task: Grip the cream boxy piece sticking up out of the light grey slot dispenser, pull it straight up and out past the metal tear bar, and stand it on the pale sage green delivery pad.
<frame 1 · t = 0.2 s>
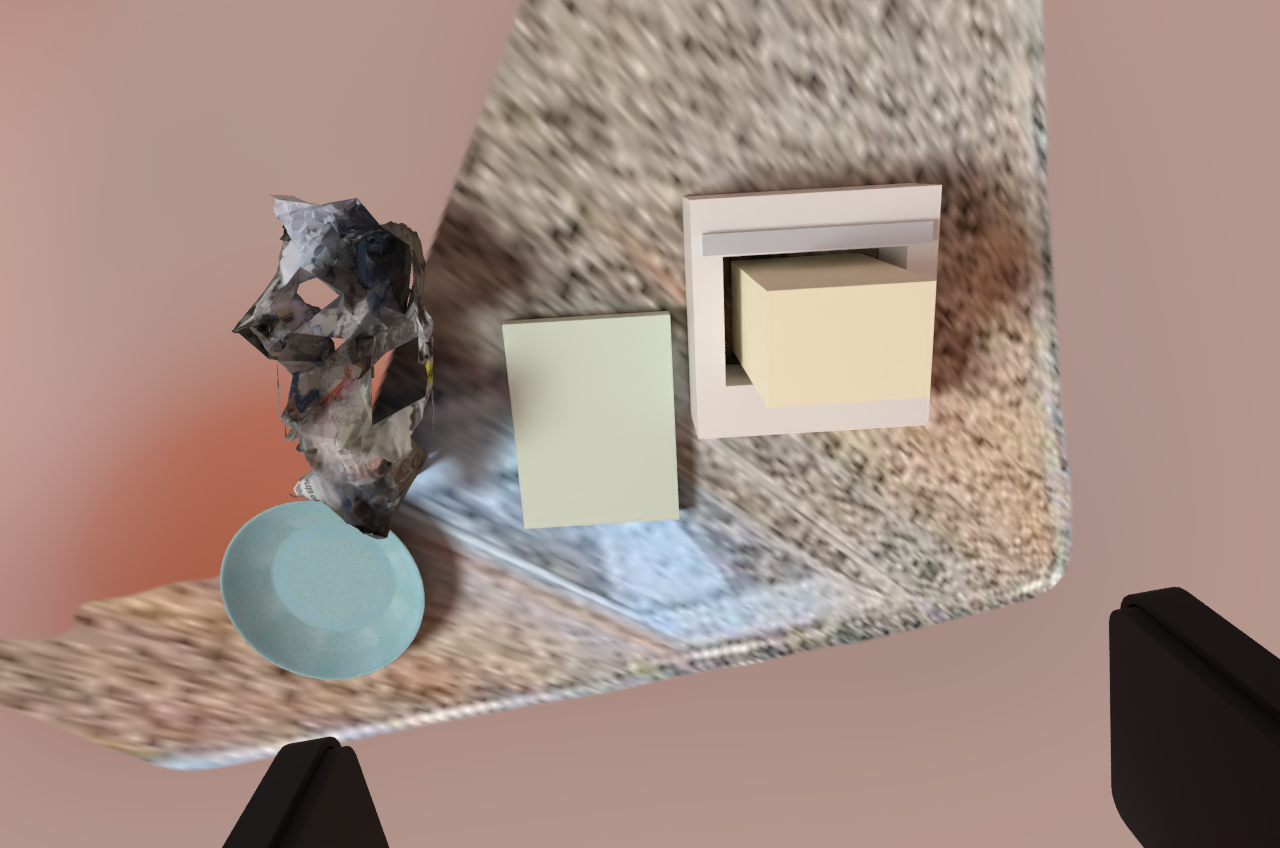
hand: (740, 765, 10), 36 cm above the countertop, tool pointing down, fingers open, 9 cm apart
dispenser: (795, 303, 44), on the countertop
saucer: (336, 573, 49), on the countertop
cream boxy piece: (795, 302, 44), resting in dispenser
foil: (368, 345, 45), on the countertop
delivery pad: (595, 419, 46), on the countertop
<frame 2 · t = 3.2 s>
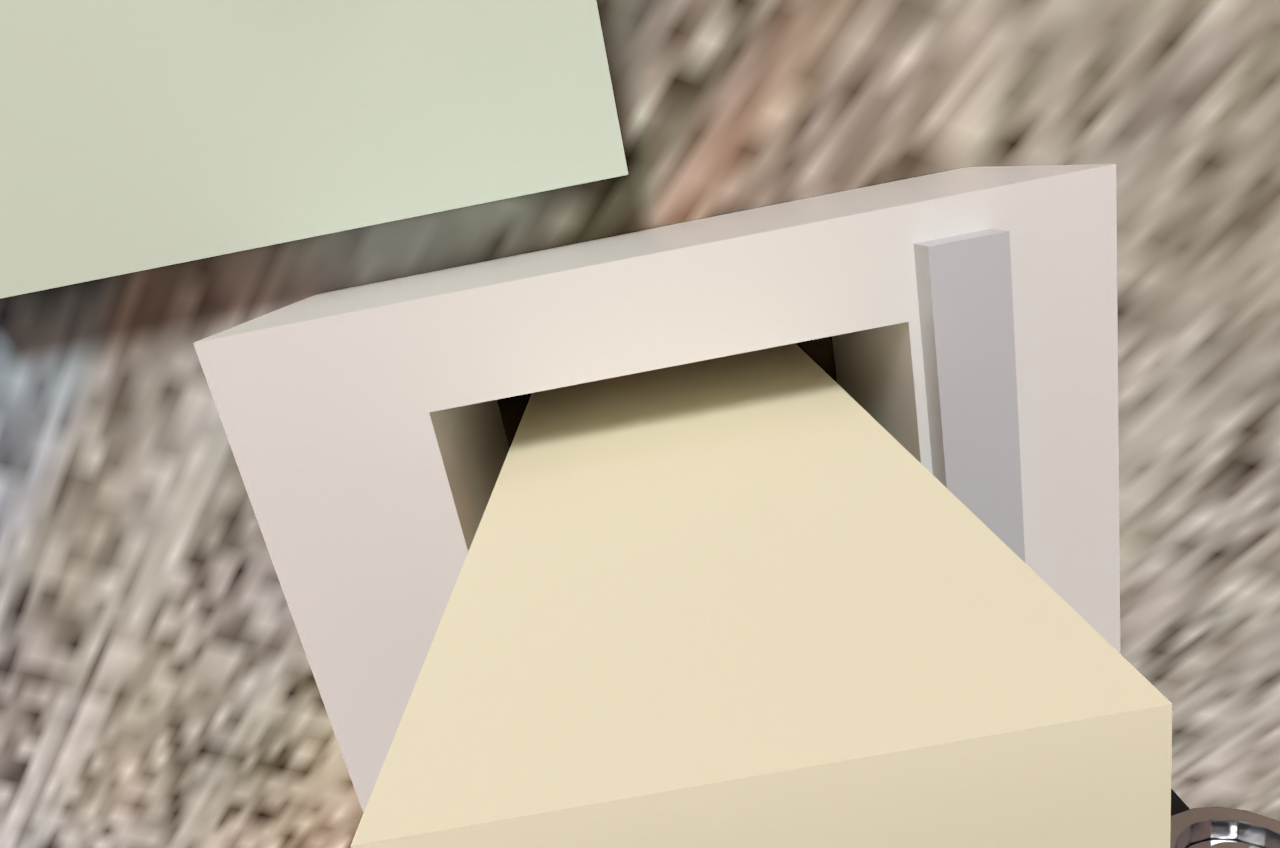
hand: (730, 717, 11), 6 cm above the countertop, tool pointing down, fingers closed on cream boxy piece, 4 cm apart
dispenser: (692, 528, 16), on the countertop
cream boxy piece: (692, 528, 16), resting in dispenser, touching gripper
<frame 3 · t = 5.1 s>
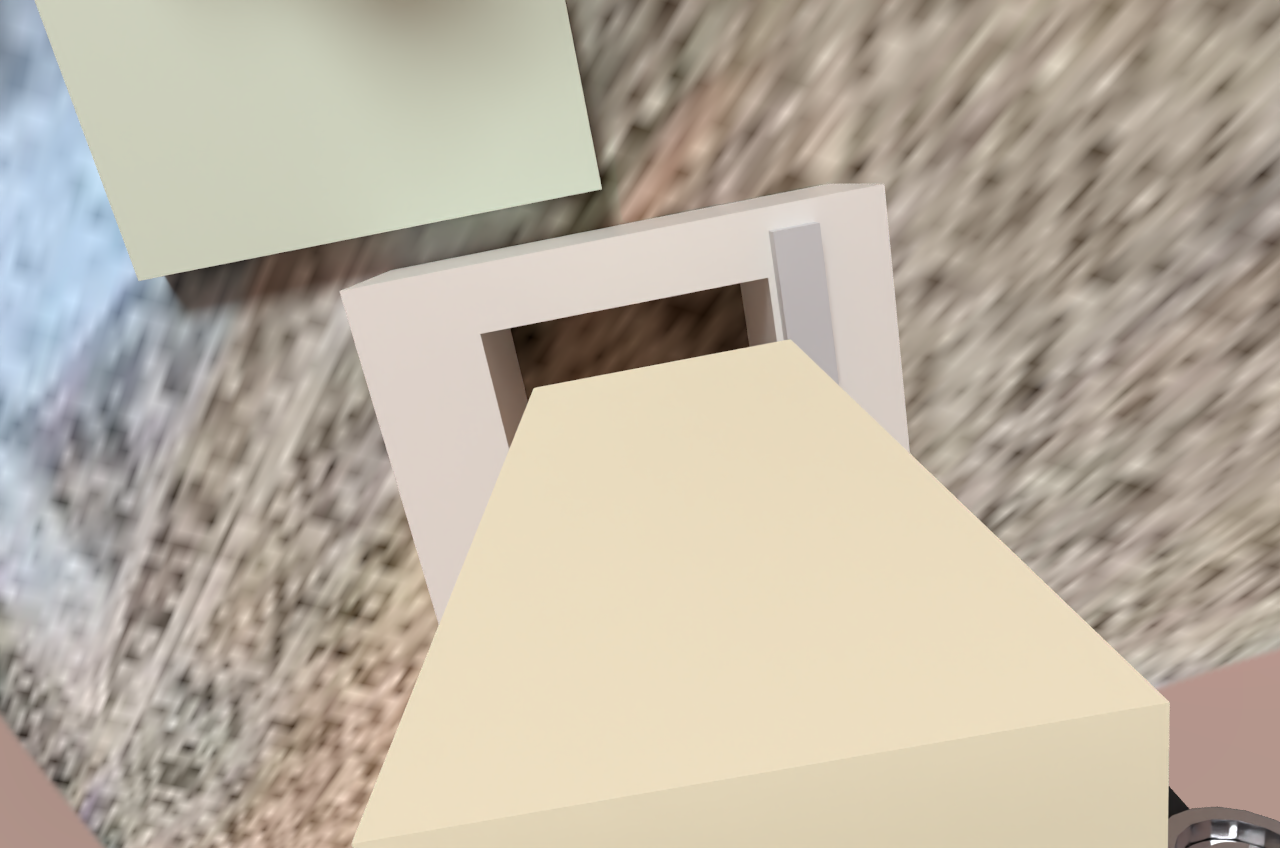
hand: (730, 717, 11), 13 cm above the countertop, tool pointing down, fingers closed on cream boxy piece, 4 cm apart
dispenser: (649, 434, 23), on the countertop
cream boxy piece: (691, 527, 16), point 7 cm above the countertop, touching gripper
delivery pad: (331, 51, 20), on the countertop
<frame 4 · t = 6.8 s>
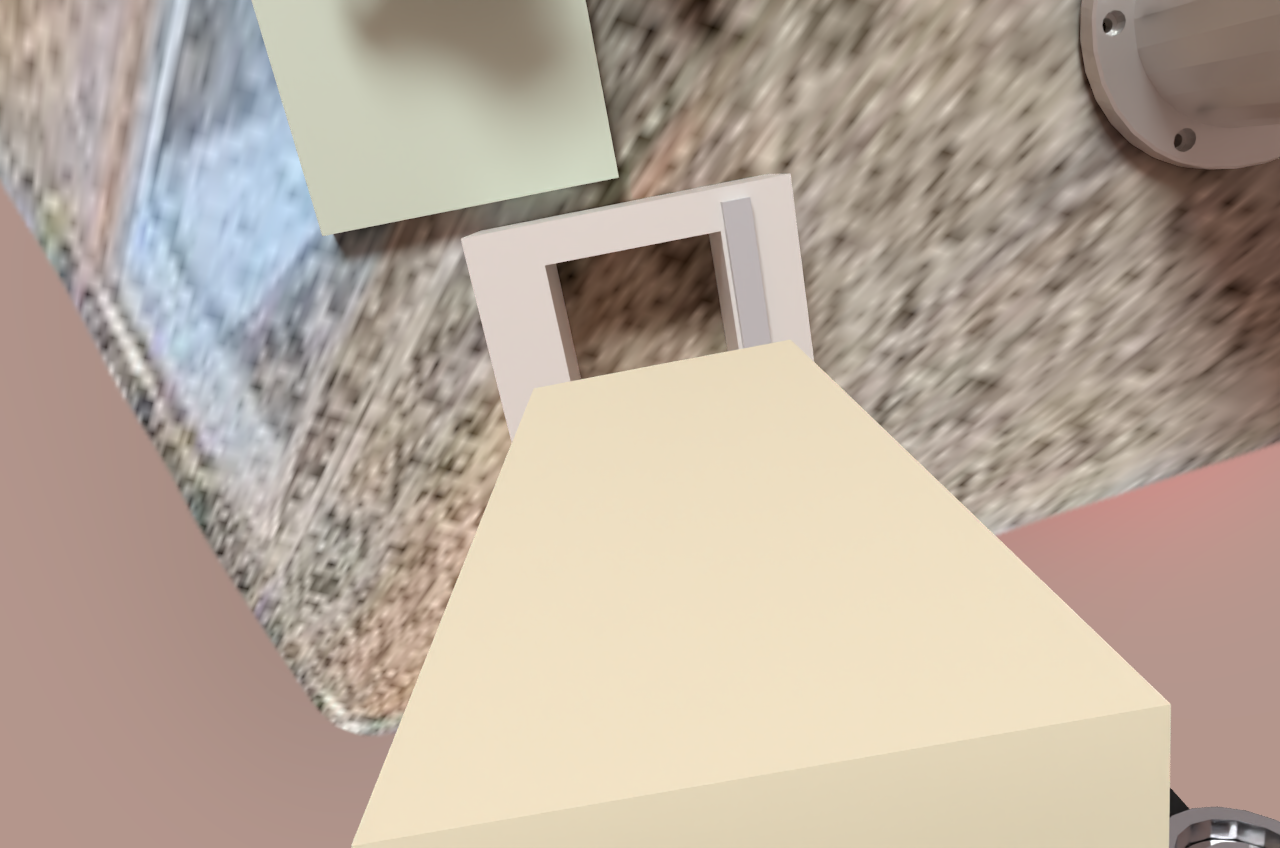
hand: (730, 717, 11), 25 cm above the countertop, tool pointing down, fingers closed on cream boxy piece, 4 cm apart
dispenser: (650, 343, 35), on the countertop
cream boxy piece: (691, 528, 16), point 19 cm above the countertop, touching gripper
delivery pad: (446, 89, 31), on the countertop
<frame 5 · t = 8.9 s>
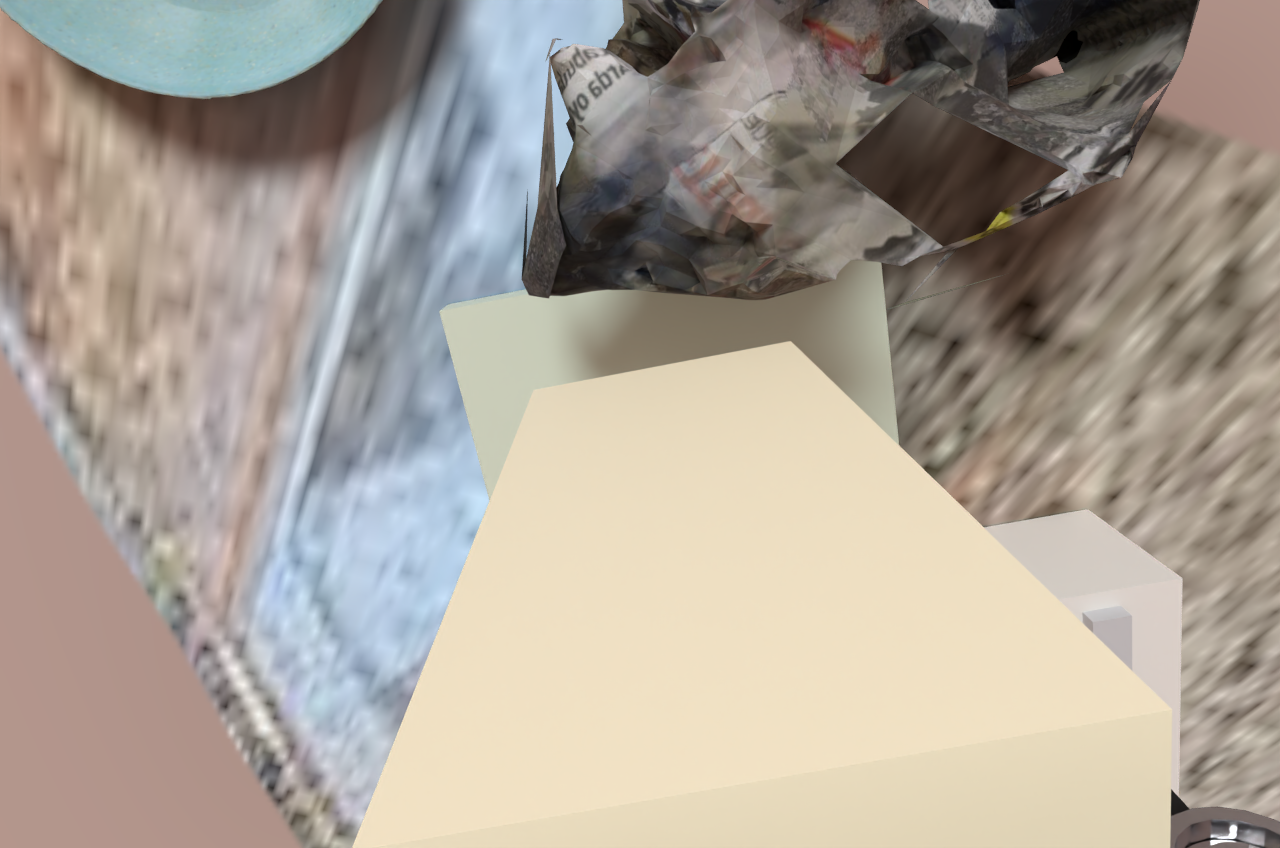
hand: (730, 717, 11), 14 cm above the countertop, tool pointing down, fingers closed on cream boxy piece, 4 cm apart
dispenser: (913, 700, 27), on the countertop
cream boxy piece: (691, 529, 16), point 8 cm above the countertop, touching gripper
foil: (827, 54, 22), on the countertop
delivery pad: (681, 413, 24), on the countertop
when the fingers open (8 cm above the countertop, at t = 10.6 s): cream boxy piece stays where it is, resting on delivery pad.
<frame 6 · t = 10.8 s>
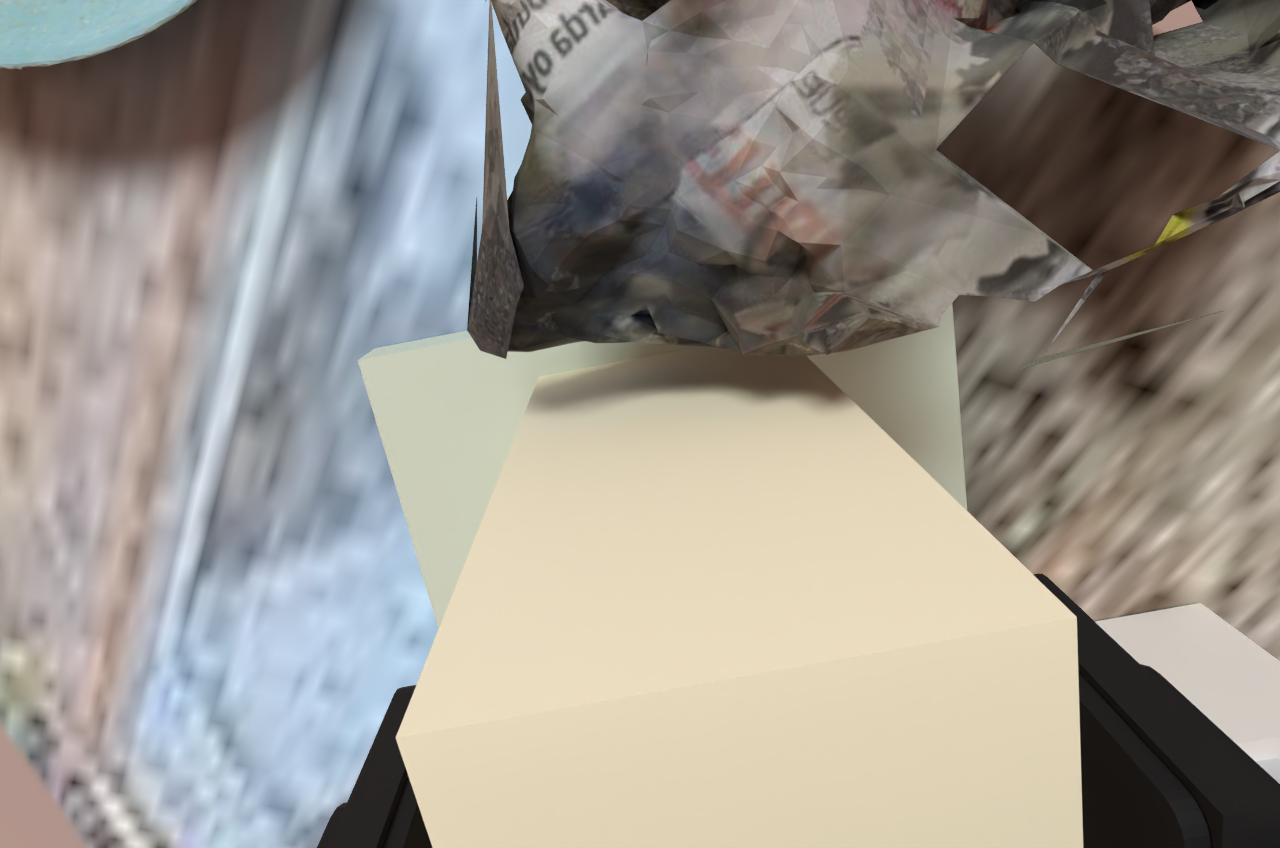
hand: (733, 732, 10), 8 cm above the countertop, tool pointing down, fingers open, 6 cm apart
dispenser: (973, 835, 22), on the countertop
cream boxy piece: (687, 509, 17), point 1 cm above the countertop, touching delivery pad
foil: (882, 5, 16), on the countertop
delivery pad: (683, 487, 18), on the countertop
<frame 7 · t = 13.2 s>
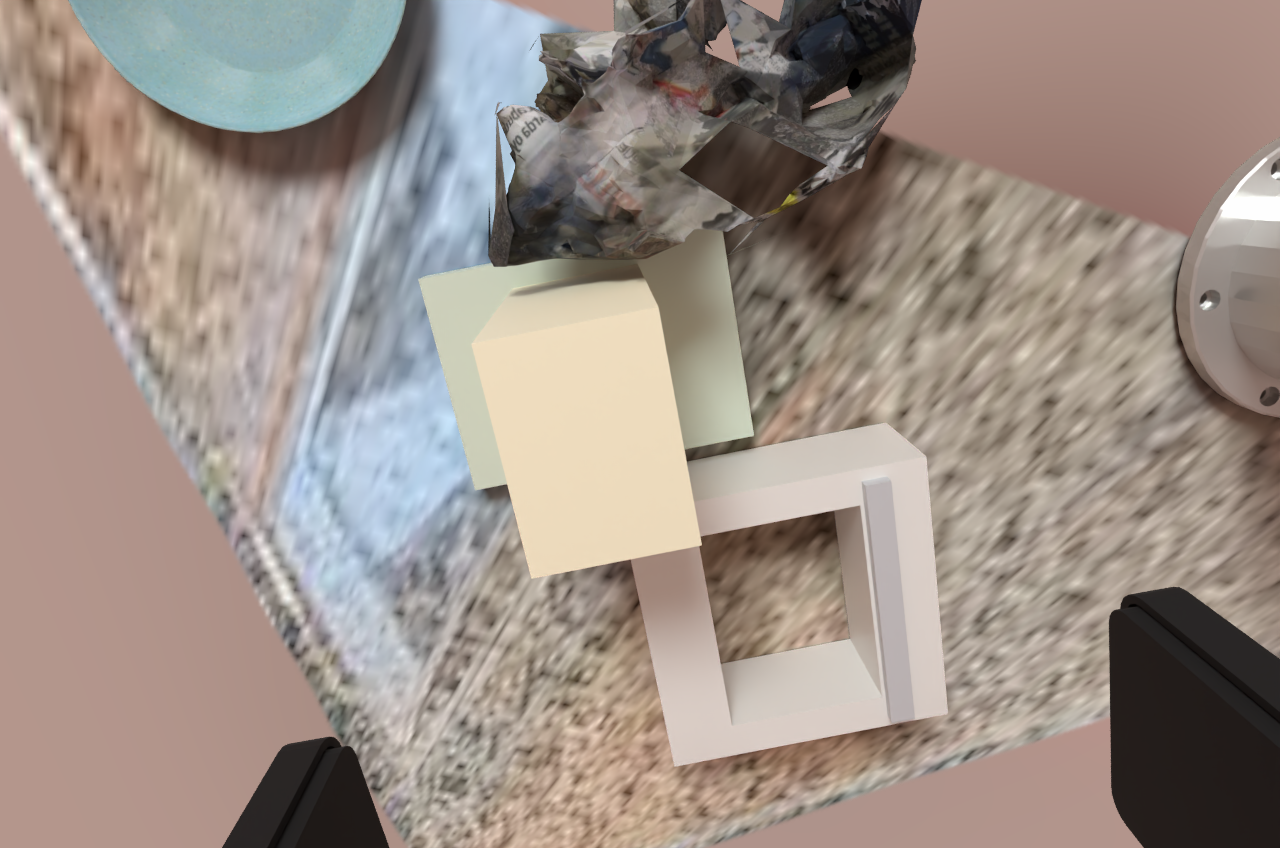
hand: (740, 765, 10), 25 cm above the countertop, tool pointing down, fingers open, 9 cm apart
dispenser: (770, 568, 37), on the countertop
cream boxy piece: (593, 361, 33), point 1 cm above the countertop, touching delivery pad
foil: (691, 92, 31), on the countertop
delivery pad: (593, 354, 34), on the countertop
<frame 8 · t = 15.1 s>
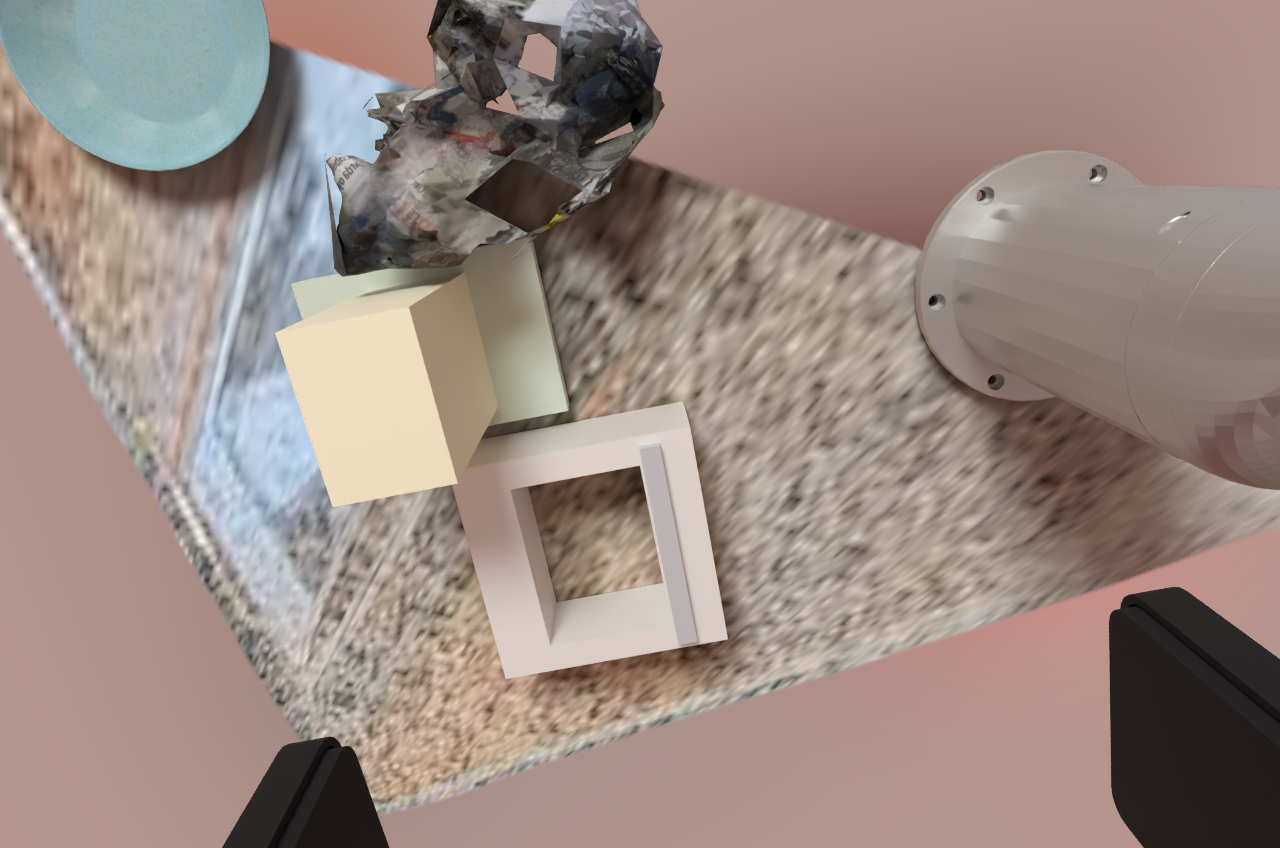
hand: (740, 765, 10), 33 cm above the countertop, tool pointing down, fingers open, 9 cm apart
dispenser: (595, 522, 45), on the countertop
saucer: (162, 39, 38), on the countertop
cream boxy piece: (433, 349, 41), point 1 cm above the countertop, touching delivery pad
foil: (506, 132, 39), on the countertop
delivery pad: (438, 344, 42), on the countertop
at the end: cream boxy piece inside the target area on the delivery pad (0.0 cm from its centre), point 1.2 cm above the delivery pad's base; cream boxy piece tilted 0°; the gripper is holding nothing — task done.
